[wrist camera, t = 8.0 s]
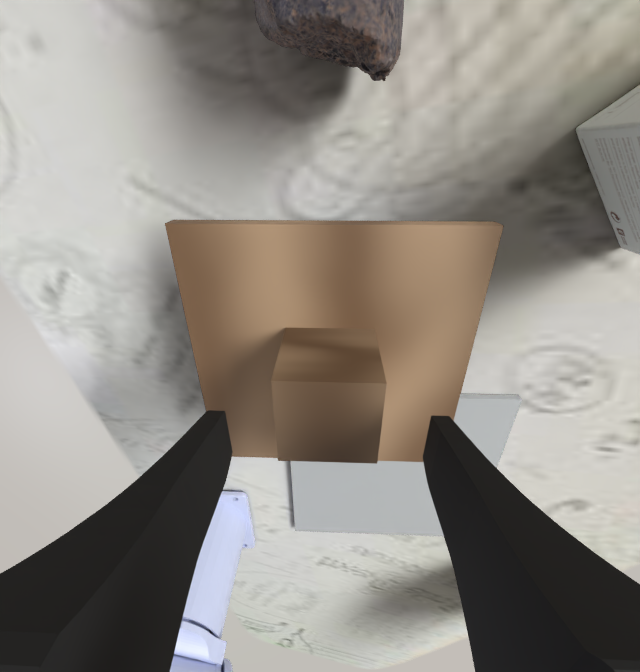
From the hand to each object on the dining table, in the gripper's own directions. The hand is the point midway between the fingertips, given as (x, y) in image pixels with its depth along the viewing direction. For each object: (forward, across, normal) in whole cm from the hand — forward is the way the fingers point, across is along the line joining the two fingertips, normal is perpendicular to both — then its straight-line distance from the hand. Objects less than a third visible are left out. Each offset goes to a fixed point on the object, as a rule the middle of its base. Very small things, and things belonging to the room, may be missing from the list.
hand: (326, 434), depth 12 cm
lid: (+6, 0, 0) cm, 6 cm away
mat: (+10, -5, +14) cm, 18 cm away
